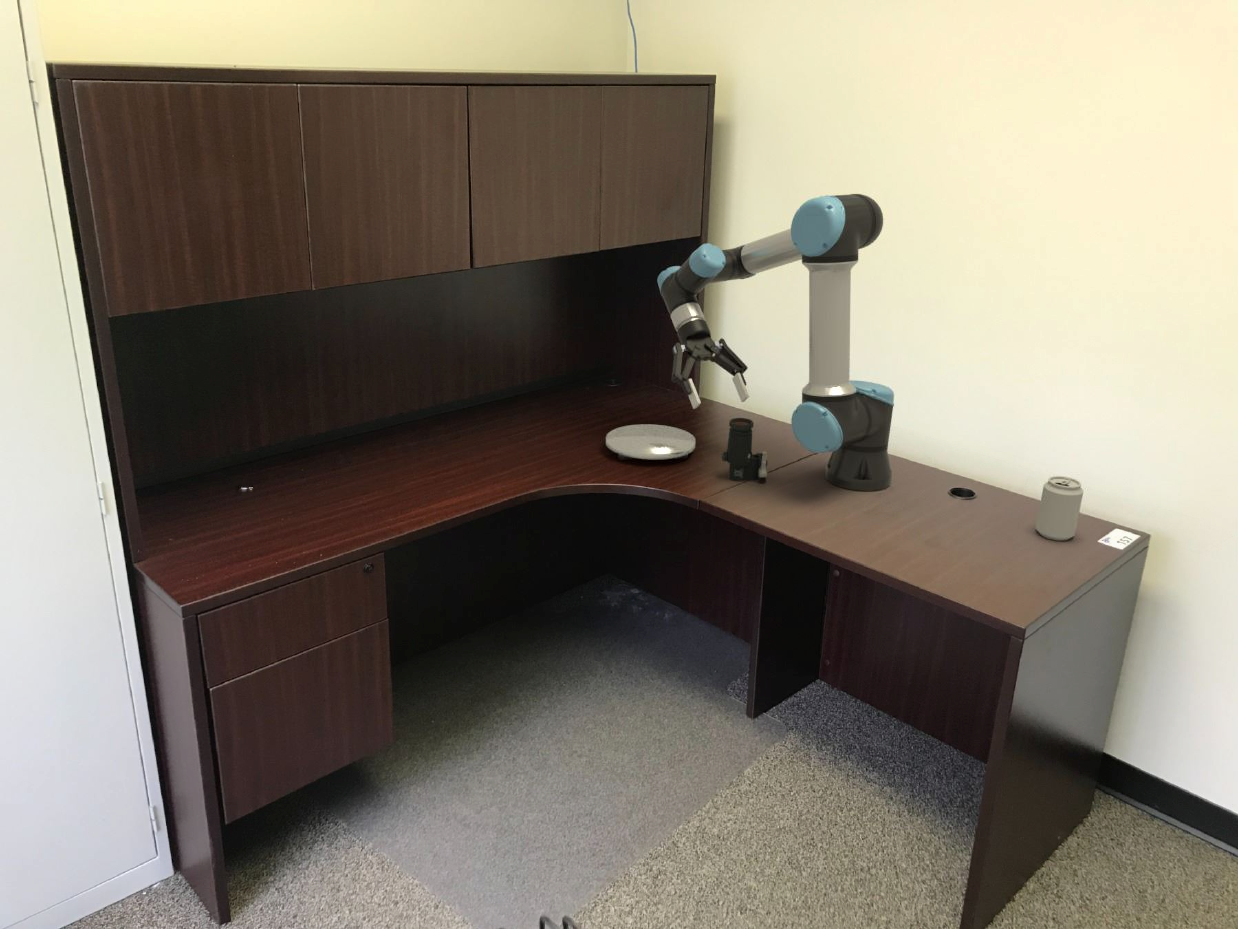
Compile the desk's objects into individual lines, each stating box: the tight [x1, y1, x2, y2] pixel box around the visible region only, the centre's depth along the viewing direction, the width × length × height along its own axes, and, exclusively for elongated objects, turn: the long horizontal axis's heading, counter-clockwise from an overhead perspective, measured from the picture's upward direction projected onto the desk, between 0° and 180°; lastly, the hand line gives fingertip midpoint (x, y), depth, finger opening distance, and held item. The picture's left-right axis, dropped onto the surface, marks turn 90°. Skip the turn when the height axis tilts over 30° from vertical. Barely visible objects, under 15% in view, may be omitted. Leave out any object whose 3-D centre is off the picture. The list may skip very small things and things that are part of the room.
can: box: [1035, 475, 1084, 541], centre depth 207 cm, size 8×8×12 cm
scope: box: [721, 417, 768, 484], centre depth 232 cm, size 8×14×10 cm
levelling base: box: [605, 423, 696, 461], centre depth 249 cm, size 22×22×4 cm
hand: (721, 402), depth 237 cm, fingers open, 13 cm apart
